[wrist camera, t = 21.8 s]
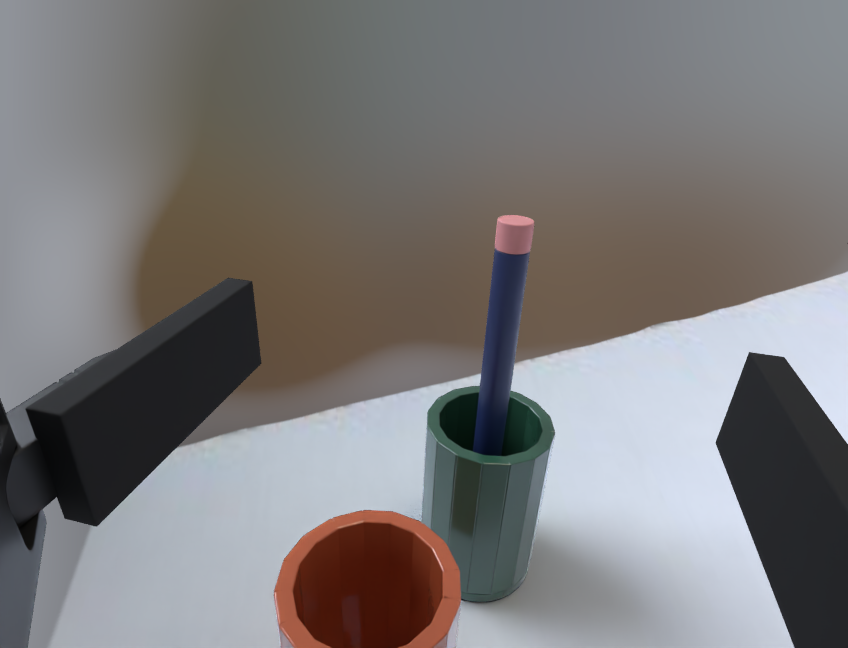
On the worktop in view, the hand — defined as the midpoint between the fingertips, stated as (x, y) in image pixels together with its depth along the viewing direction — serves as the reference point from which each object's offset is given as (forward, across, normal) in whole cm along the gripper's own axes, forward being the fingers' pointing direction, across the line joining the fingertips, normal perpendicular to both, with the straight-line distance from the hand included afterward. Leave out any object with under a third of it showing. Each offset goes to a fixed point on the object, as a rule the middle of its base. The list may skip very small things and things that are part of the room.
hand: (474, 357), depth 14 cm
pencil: (+8, 0, -17) cm, 19 cm away
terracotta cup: (-1, -3, -17) cm, 17 cm away
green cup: (+8, 0, -17) cm, 19 cm away
